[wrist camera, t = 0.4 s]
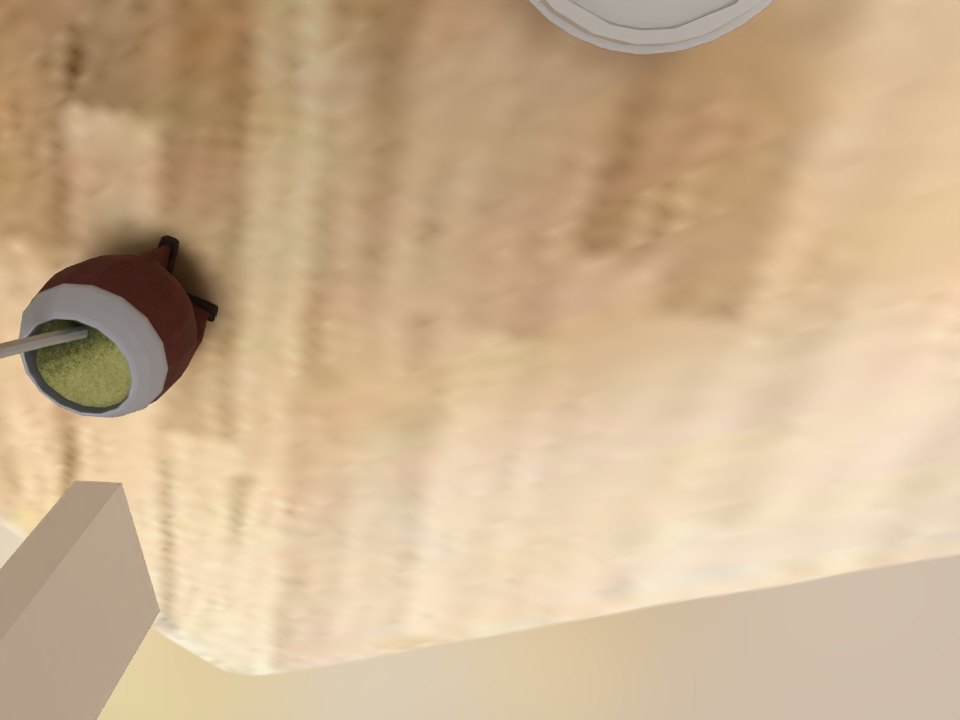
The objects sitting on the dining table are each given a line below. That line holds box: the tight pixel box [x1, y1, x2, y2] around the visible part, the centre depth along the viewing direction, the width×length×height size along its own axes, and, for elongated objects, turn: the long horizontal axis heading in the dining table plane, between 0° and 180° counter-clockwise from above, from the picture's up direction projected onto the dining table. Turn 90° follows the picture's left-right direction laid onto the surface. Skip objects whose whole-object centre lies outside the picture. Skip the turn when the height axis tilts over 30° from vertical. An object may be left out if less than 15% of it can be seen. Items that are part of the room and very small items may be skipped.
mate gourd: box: [0, 236, 218, 417], centre depth 37 cm, size 8×8×15 cm
